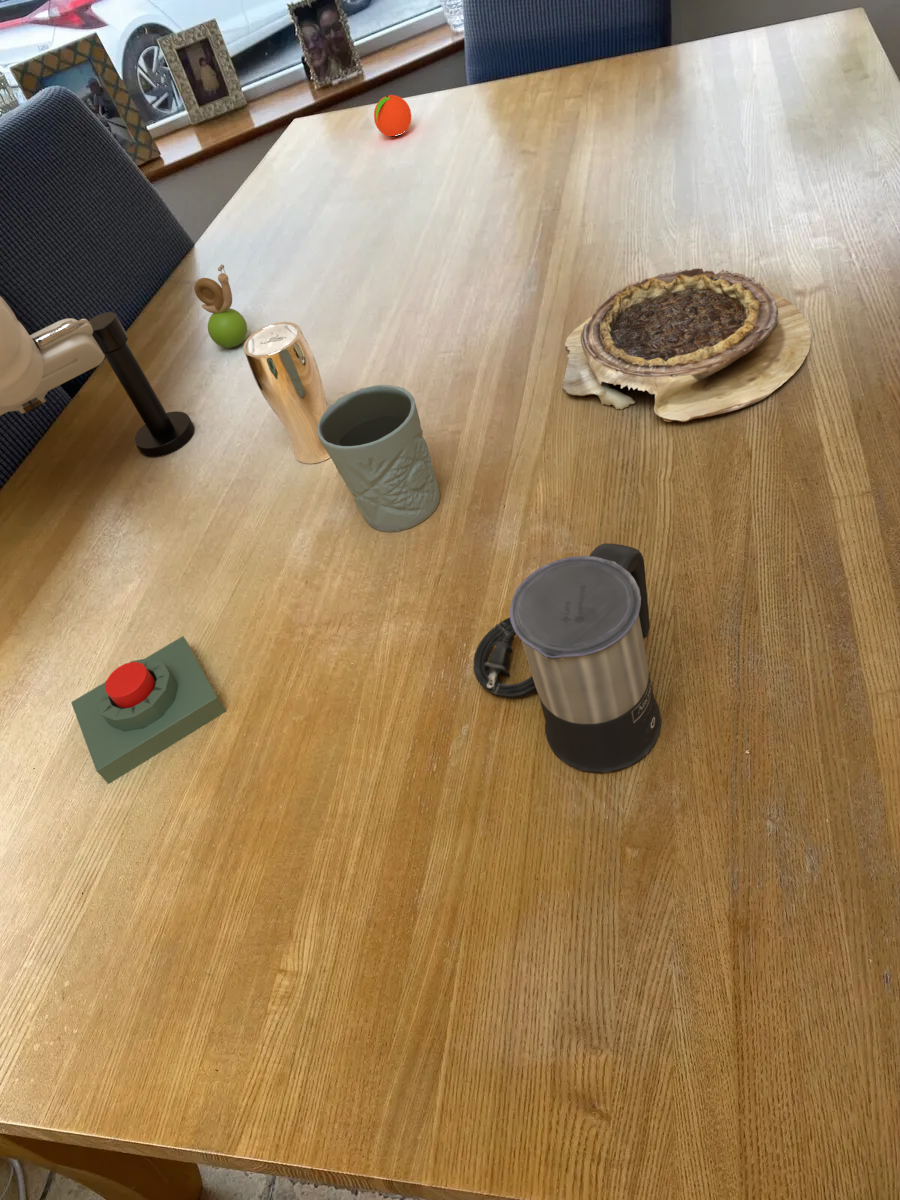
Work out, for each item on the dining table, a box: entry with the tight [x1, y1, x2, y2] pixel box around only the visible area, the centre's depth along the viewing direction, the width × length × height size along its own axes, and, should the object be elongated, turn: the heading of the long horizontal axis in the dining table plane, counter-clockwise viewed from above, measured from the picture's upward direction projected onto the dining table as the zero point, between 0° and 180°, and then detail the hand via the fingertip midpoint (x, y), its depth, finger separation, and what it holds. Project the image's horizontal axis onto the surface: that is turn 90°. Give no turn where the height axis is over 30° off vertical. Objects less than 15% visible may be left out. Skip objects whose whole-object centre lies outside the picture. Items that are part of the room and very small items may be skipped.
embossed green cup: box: [317, 384, 441, 533], centre depth 96 cm, size 10×10×12 cm
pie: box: [561, 267, 812, 423], centre depth 105 cm, size 28×27×5 cm
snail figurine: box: [193, 263, 248, 349], centre depth 131 cm, size 5×6×12 cm
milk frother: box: [473, 542, 662, 774], centre depth 72 cm, size 14×16×15 cm
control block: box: [70, 635, 227, 785], centre depth 87 cm, size 12×10×4 cm
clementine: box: [373, 94, 412, 137], centre depth 173 cm, size 8×7×7 cm
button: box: [105, 661, 155, 708], centre depth 85 cm, size 4×4×2 cm
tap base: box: [104, 341, 196, 458], centre depth 117 cm, size 8×8×14 cm
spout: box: [26, 311, 129, 413], centre depth 112 cm, size 15×4×6 cm, turn 110°
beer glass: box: [242, 321, 331, 465], centre depth 107 cm, size 7×7×15 cm
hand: (31, 402), depth 111 cm, fingers closed, pressing on spout
